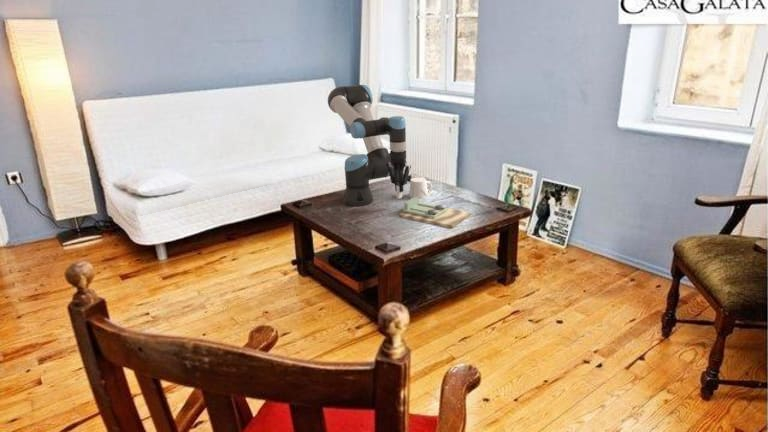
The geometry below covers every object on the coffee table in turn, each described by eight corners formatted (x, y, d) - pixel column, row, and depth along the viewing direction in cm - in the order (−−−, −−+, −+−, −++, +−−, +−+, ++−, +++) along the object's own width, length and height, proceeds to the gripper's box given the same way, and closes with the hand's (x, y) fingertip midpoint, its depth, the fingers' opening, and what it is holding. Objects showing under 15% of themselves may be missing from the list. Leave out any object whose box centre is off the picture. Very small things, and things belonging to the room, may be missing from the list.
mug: (411, 182, 252) (407, 178, 259) (412, 200, 256) (407, 195, 263) (434, 180, 255) (429, 175, 262) (434, 197, 258) (429, 192, 266)
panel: (403, 211, 237) (402, 203, 236) (416, 203, 246) (416, 196, 245) (434, 218, 228) (434, 210, 226) (447, 209, 237) (447, 202, 235)
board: (399, 216, 236) (399, 209, 234) (419, 204, 249) (419, 197, 248) (452, 228, 220) (452, 220, 219) (471, 215, 234) (471, 207, 232)
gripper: (382, 150, 236) (384, 197, 244) (405, 153, 228) (406, 202, 237) (391, 147, 241) (392, 193, 250) (414, 149, 234) (415, 197, 242)
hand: (399, 197), depth 243 cm, fingers closed
